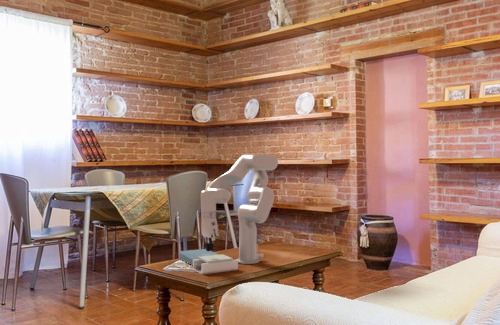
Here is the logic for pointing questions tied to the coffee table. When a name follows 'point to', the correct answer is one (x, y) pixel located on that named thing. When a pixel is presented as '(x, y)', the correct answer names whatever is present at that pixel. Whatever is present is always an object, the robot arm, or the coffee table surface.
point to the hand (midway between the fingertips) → (209, 250)
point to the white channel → (214, 266)
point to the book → (195, 255)
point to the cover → (215, 258)
